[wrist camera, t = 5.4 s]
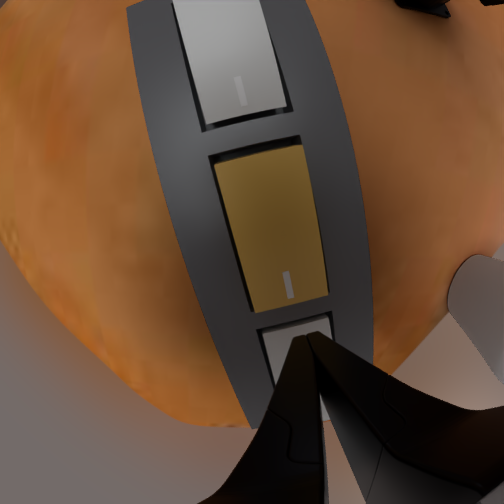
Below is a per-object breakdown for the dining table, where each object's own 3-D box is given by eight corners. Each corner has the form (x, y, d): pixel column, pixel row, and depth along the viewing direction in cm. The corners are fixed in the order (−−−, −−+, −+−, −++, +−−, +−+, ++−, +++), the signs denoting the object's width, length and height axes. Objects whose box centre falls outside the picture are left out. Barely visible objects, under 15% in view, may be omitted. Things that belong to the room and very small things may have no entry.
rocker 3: (319, 307, 16) (328, 317, 14) (335, 398, 16) (343, 416, 14) (262, 321, 16) (262, 334, 14) (284, 411, 17) (287, 430, 14)
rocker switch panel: (280, 10, 13) (290, -30, 8) (351, 359, 21) (370, 399, 17) (149, 40, 13) (122, 9, 9) (247, 385, 22) (249, 429, 17)
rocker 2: (292, 145, 12) (302, 144, 10) (316, 275, 15) (328, 295, 13) (218, 162, 12) (213, 165, 10) (252, 290, 15) (255, 313, 13)
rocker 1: (247, -9, 9) (251, -25, 7) (277, 104, 13) (286, 106, 11) (177, 6, 9) (170, -8, 7) (209, 120, 13) (206, 124, 11)
